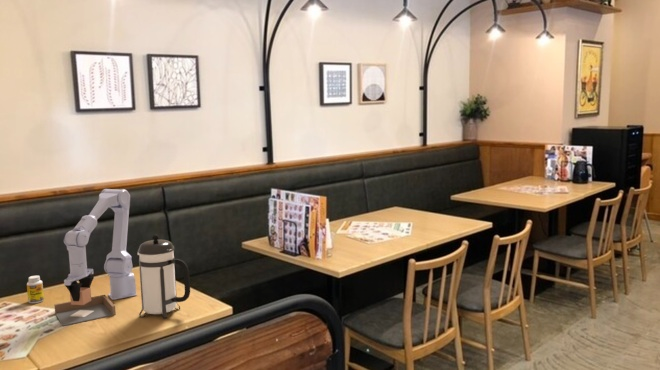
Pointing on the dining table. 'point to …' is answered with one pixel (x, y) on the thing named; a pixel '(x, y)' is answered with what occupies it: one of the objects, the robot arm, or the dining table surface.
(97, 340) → the dining table surface
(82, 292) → the cube
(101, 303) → the tray
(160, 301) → the coffee press
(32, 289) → the supplement bottle
